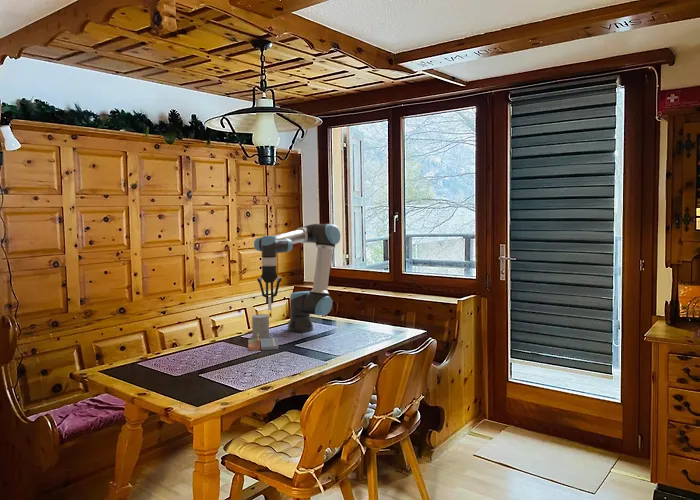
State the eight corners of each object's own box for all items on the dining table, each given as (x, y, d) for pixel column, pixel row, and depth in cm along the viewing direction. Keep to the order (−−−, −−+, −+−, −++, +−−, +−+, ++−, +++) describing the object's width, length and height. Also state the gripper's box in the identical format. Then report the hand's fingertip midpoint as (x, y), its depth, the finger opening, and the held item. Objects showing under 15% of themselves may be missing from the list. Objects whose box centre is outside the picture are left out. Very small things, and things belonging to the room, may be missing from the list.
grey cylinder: (271, 335, 313) (270, 314, 312) (266, 339, 303) (266, 317, 302) (254, 334, 314) (254, 314, 313) (250, 339, 304) (249, 317, 303)
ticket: (276, 340, 300) (276, 337, 300) (278, 349, 283) (278, 345, 283) (260, 341, 299) (260, 338, 299) (261, 350, 281) (261, 346, 281)
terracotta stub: (259, 345, 289) (259, 337, 289) (260, 349, 281) (259, 340, 281) (248, 346, 288) (248, 337, 288) (248, 350, 280) (248, 341, 280)
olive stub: (259, 341, 298) (259, 333, 298) (259, 345, 290) (259, 336, 290) (248, 342, 297) (248, 333, 297) (248, 345, 289) (248, 337, 289)
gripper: (281, 264, 288) (281, 307, 290) (256, 264, 285) (257, 308, 287) (282, 265, 280) (282, 310, 282) (256, 266, 278) (257, 311, 280)
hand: (269, 309), depth 285 cm, fingers closed
